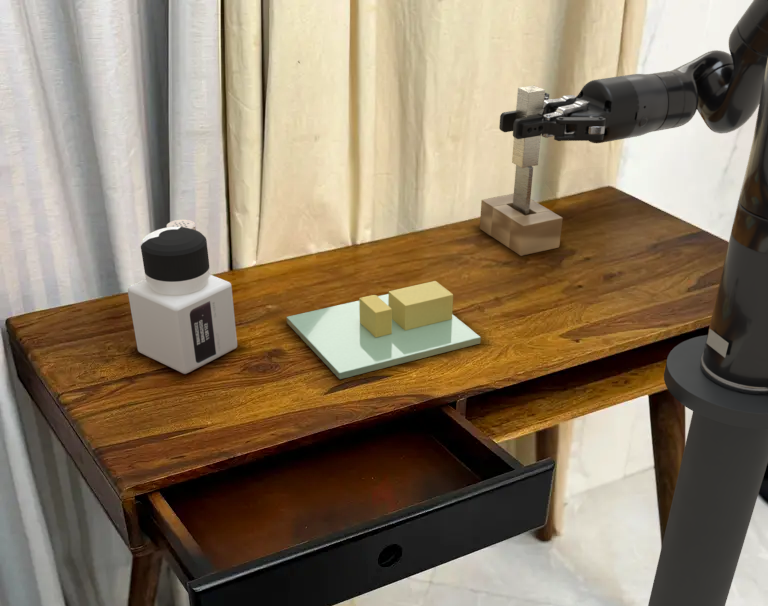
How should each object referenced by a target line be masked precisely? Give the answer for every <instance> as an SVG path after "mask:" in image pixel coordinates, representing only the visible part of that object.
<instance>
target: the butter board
mask: <svg viewBox="0 0 768 606" xmlns="http://www.w3.org/2000/svg"><path fill="white" fill-rule="evenodd" d="M377 296H378V297H379V298H380V299H381V300H382V301H383V302H385V303H386V304H387V305H388V302H389V293H386V294H381V295H377ZM286 324H287V325H288V326H289V327H290V328H291V329H292V330H293V331H294V332H295V334H296V335H297V336H298V337H299V338H300V339H301V340H302V341H303V342H304V343H305V344H306V345H307V346H308V347H309V349H311V351H312V352H313V353H314V354H315V355H316V356H317V357H318V358H319V359H320V360H321V362H323V364H324V365H326V367H327V368H328V369H329V370H330V371H331V372H332V373H333V374H334V375H335V377H336V378H338V379H339V380H343V379H347V378H351V377H355V376H359V375H362V374H366V373H370V372H374V371H379V370H382V369H385V368H390V367H394V366H398V365H401V364H405V363H409V362H413V361H416V360H422V359H426V358H429V357H433V356H437V355H441V354H445V353H448V352H452V351H457V350H459V349H464V348H467V347H471V346H476V345H480V344H481V341H482V337H481V336H480V335H479V334H477V332H475V331H474V330H473V329H471V328H470V327H469V326H468V325H467V324H465V323H464V322H463V321H462V320H461V319H459V318H458V317H457V316H456V315H454V314H453V313H452V319H450V320H446V321H442V322H438V323H434V324H430V325H426V326H422V327H418V328H414V329H409V330H404V329H403V328H402V327H401V326H399V325H398V324H397V323H396V322H395V321H394V320H393V319H392V334H389V335H384V336H380V337H375V336H374V335H372V334H371V333H370V332H369V331H368V330H367V329H366V328H365V327H364V326H363V325H362V324H361V323H360V307H359V300H356V301H350V302H346V303H341V304H338V305H332V306H328V307H324V308H319V309H315V310H311V311H306V312H302V313H298V314H293V315H289V316H286Z"/></svg>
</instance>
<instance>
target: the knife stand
mask: <svg viewBox="0 0 768 606" xmlns="http://www.w3.org/2000/svg"><path fill="white" fill-rule="evenodd" d="M513 197H514V192H513V193H509V194H503V195H499V196H494V197H488V198H483V199H481V200H480V201H481V203H480V216H479V217H480V218H479V230H481V231H482V232H484V233H485V234H486V235H488V236H490V237H491V238H493V239H495V240H496V241H497V242H499V243H501V244H502V245H504V246H505V247H506V248H508V249H510V250H511V251H512V252H514V253H515V254H517V255H518V256H520V257H522V256H527V255H531V254H535V253H540V252H545V251H549V250H553V249H558V248H560V245H561V236H562V229H563V228H562V227H563V219H564V218H563V217H562V216H560V215H559V214H557V213H555V212H554V211H552V210H551V209H549V208H547V207H545V206H543V204H540V203H539V202H537V201H535V200H533V199H532V198H530V209H529V214H526V215H525V214H523V213H522V212H520V211H518V210H517V209H515V208H513Z"/></svg>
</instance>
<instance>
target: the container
mask: <svg viewBox="0 0 768 606" xmlns="http://www.w3.org/2000/svg"><path fill="white" fill-rule="evenodd" d="M139 245H140V251H141V258H142V263H143V270H144V277H145V278H144V279H142V280H140V281H138V282H135V283H132V284H131V285H128V287H127V295H128V302H129V308H130V313H131V318H132V319H131V320H132V325H133V331H134V336H135V342H136V348H137V352H138V353H140V354H142V355H143V356H146V357H147V358H150V359H152V360H154V361H156V362H158V363H161V364H163V365H165V366H166V367H168V368H171V369H173V370H175V371H177V372H178V373H181V374H182V375H187V374H189V373H191V372H193V371H195V370H197V369H200V367H203V366H205V365H207V364H209V363H210V362H212V361H215V360H216V359H219V358H220V357H222V356H224V355H226V354H229V353H230V352H231V351H234V350H236V349H237V348H238V338H237V336H238V335H237V328H236V327H237V326H236V318H235V317H236V316H235V309H234V298H233V296H234V295H233V286H232V283H231V282H230V281H228V280H226V279H223V278H220V277H217V276H215V275H213V274H211V268H210V260H209V259H210V258H209V251H208V250H209V249H208V241H207V237H206V236H205V235H204V234H203V233H201V231H198V230H197V229H196V230H194V229H190V228H185V227H167V226H166V227H163V228H158V229H156V230H154V231H152V232H150V233H147V234H146V235H145V236H144V237H143V239H142V240H141V242H140V244H139Z"/></svg>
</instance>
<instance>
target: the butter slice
mask: <svg viewBox="0 0 768 606" xmlns="http://www.w3.org/2000/svg"><path fill="white" fill-rule="evenodd" d="M378 296H379V295H377V294H371V295H370V294H369V295H367V296H362V297H359V300H358V301H359V307H360V323H361V324H362V325H363V326H364V327H365V328H366V329H367V330H368V331H369V332H370V333H371V334H372V335H374V336H375V337H380V336H384V335H389V334H392V309H391V308H390V307H389V306H388V305H387V304H386V303H385V302H383V301H382V300H381V299H380V298H379V297H378Z"/></svg>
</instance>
